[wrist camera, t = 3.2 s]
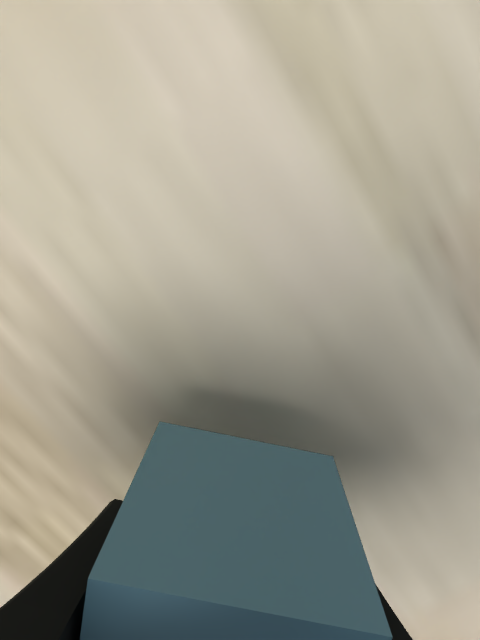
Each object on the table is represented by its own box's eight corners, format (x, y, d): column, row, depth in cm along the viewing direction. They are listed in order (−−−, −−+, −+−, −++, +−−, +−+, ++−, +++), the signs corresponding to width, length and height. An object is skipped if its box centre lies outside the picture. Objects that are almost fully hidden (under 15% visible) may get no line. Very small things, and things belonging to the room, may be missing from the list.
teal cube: (332, 456, 11) (392, 637, 6) (291, 592, 13) (315, 829, 8) (159, 421, 11) (88, 578, 6) (135, 561, 12) (60, 781, 8)
